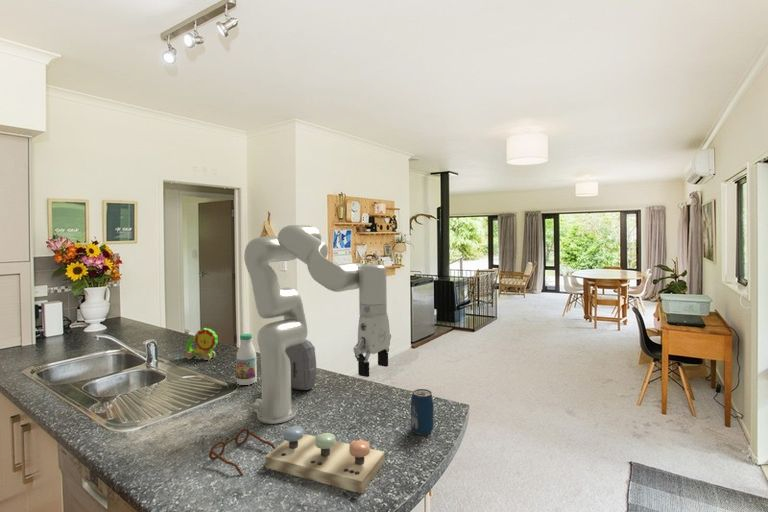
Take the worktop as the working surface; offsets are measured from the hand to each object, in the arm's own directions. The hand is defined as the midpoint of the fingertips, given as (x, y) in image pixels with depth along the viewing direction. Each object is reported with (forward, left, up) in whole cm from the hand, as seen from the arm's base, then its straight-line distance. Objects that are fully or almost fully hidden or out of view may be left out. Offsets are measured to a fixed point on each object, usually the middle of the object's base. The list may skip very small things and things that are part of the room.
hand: (373, 370), depth 112 cm
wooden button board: (-9, -11, -23) cm, 27 cm away
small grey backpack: (-46, +31, -23) cm, 60 cm away
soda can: (+9, +17, -23) cm, 30 cm away
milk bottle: (-69, +28, -23) cm, 78 cm away
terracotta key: (+1, -11, -17) cm, 20 cm away
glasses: (-32, -16, -24) cm, 43 cm away
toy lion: (-111, +45, -23) cm, 122 cm away
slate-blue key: (-19, -11, -17) cm, 28 cm away
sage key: (-9, -11, -17) cm, 22 cm away
